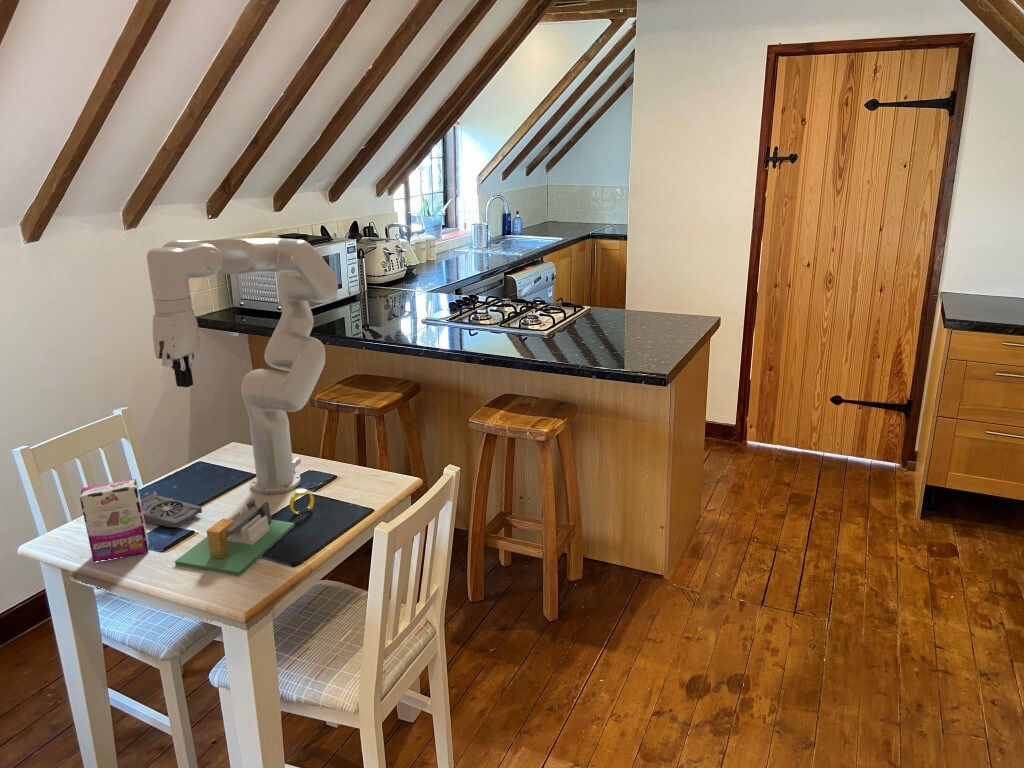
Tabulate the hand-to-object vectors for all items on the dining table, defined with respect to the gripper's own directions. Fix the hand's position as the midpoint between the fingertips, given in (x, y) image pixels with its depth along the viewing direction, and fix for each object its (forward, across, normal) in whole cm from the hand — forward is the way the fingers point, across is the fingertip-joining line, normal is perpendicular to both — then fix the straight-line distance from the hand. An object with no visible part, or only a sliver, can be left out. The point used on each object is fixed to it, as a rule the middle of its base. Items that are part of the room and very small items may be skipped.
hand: (185, 385), depth 174 cm
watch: (+35, -12, +19) cm, 42 cm away
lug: (+34, +11, +13) cm, 38 cm away
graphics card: (+36, 0, -12) cm, 38 cm away
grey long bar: (+30, +4, +13) cm, 33 cm away
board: (+35, +6, +13) cm, 38 cm away
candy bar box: (+35, +16, -10) cm, 40 cm away
